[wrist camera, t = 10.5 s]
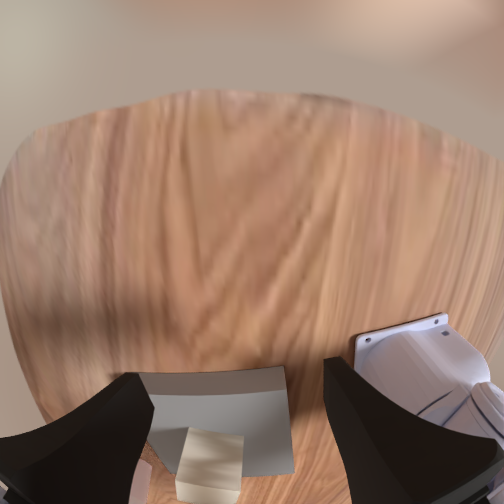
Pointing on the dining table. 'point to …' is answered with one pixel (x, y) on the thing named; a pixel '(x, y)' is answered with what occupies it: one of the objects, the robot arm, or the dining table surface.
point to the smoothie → (140, 483)
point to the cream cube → (210, 468)
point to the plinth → (223, 415)
